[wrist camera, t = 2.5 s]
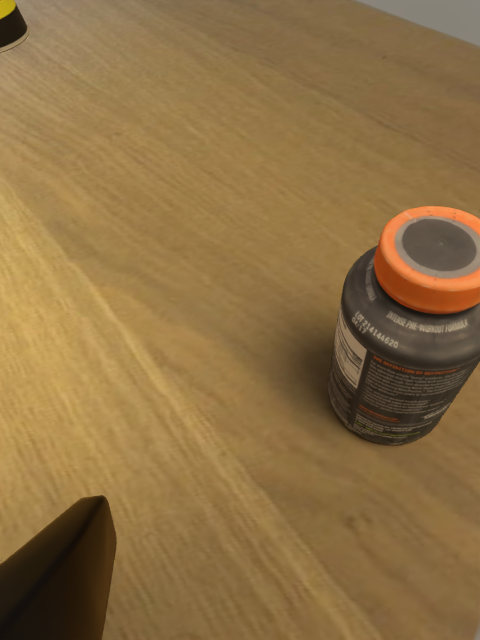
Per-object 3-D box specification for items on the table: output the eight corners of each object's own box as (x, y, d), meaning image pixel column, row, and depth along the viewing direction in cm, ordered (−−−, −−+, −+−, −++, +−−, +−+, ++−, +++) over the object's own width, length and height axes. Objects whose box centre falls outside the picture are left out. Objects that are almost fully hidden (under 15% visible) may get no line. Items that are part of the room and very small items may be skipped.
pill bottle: (460, 382, 24) (569, 224, 15) (409, 472, 22) (502, 348, 12) (360, 329, 27) (401, 165, 17) (305, 404, 24) (317, 259, 15)
